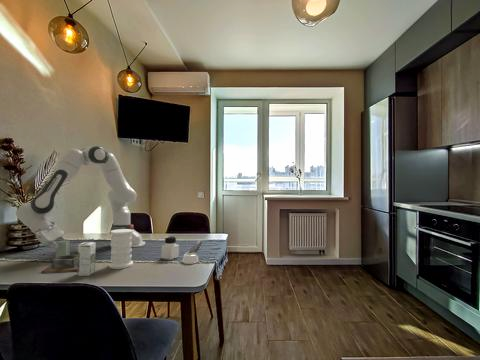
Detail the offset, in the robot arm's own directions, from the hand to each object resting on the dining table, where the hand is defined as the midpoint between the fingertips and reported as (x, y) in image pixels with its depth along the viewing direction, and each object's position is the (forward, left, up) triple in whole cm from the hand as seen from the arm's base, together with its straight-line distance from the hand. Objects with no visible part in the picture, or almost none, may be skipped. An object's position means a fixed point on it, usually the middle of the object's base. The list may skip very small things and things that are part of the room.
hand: (62, 245), depth 160 cm
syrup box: (-21, +29, -8) cm, 37 cm away
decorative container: (-34, +17, -8) cm, 39 cm away
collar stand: (-8, +16, -8) cm, 20 cm away
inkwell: (-72, +11, -8) cm, 73 cm away
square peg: (0, 0, -8) cm, 8 cm away
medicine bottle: (-58, +5, -8) cm, 59 cm away
